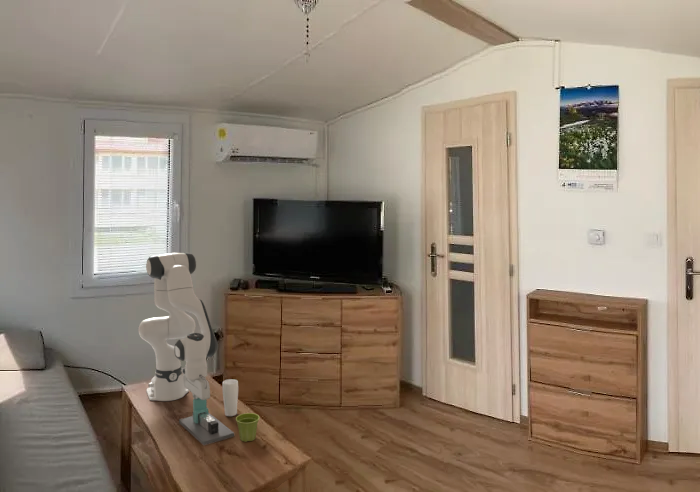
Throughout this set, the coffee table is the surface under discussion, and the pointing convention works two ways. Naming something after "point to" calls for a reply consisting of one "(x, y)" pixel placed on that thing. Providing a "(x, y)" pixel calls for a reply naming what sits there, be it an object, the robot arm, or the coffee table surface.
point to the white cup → (230, 396)
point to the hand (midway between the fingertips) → (197, 403)
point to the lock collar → (199, 408)
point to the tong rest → (203, 434)
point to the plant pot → (247, 426)
